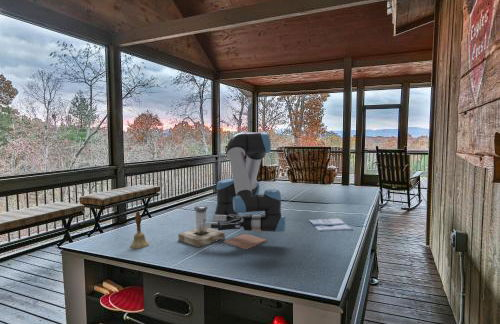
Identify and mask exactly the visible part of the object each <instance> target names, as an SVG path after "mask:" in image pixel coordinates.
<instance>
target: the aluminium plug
mask: <svg viewBox="0 0 500 324" xmlns="http://www.w3.org/2000/svg"><path fill="white" fill-rule="evenodd" d="M193 210H194V211H195V224H196V225H195V229H196V235H199V236H202V235H206V234H207V228H205V222H207V210H208V206H207V205H197V206H194V207H193Z"/></svg>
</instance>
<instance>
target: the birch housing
mask: <svg viewBox="0 0 500 324" xmlns="http://www.w3.org/2000/svg"><path fill="white" fill-rule="evenodd" d="M225 234H226V233H225V231H222V230H220V231H219V230H218V229H213V228H207V234H206V235H202V236H199V235H196V228H194V229H191V230H187V231H185V232H180V233H178V234H177V236H178V237H177V238H178V241H180V242H183V243H186V244H189V245H192V246H194V247H197V246H198V248H201V247H204V246H207V245H209V244H208V243H210V244H212V243H211V242H213V243H215V242H214V241H216V240H219V239H221V240H223V239H222V238H224V239H225V238H226V235H225ZM219 241H220V240H219ZM216 242H217V241H216ZM206 244H207V245H206ZM203 245H204V246H203ZM200 246H201V247H200Z"/></svg>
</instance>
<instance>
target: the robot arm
mask: <svg viewBox="0 0 500 324" xmlns="http://www.w3.org/2000/svg"><path fill="white" fill-rule="evenodd" d="M271 145H272V144H271V138H270V135H269V134H268V133H267V132H266V131H265V132H263V131H260V132H259V131H257V132H243V131H242V132H241V131H240V132H238V133H236V134H234V135H233V136H232V137H230V139H229V141H228V142H227V145H226V148H225V149H226V156H227V158H228V159H229V162H230V163H229V164H230V170H231V173H232V175H231V176H232V178H227V179H222V180H219V181H217V183H216V208H215V211H214V215H213V222H212V221H211V222H210V221H206V222H205V228H210V229H214V230H218V231H227V230H228V231H229V230H240V229H241V227H242V228H243V231H248V232H249V231H250V232H251V231H254V232H258V233H260V232H271V233H272V232H273V233H283V232H285V230H286V227H287V225H286V224H287V223H286V221H287V219H286V216H285V215H283V214H282V209H281V208H282V197H281V191H280V190H278V189H274V188H273V189H265V190H264V192H263V194H259V193H260V184H259V183H260V182H259V180H257V177H258V173H259V170H260V166H261V163H262V160H263V159H264V158H265V156H266V154H270V153H271V151H272V147H271ZM245 156H246V158H245ZM253 212H264V214H246V213H253ZM240 213H241V214H244V215H239V214H240ZM214 221H215V222H214ZM216 221H217V222H216ZM220 221H221V222H220Z"/></svg>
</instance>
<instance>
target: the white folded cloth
mask: <svg viewBox="0 0 500 324" xmlns="http://www.w3.org/2000/svg"><path fill="white" fill-rule="evenodd" d="M308 222H310V223H311V224H312V225H313V227H315V228H316V230H318V231H319V232H327V231H329V232H330V231H334V232H335V231H353V228H352V227H351V226H349V225H348V224H346V222H345V221H343V220H342V219H340V218H337V217H336V218H322V219H320V218H319V219H308Z"/></svg>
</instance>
